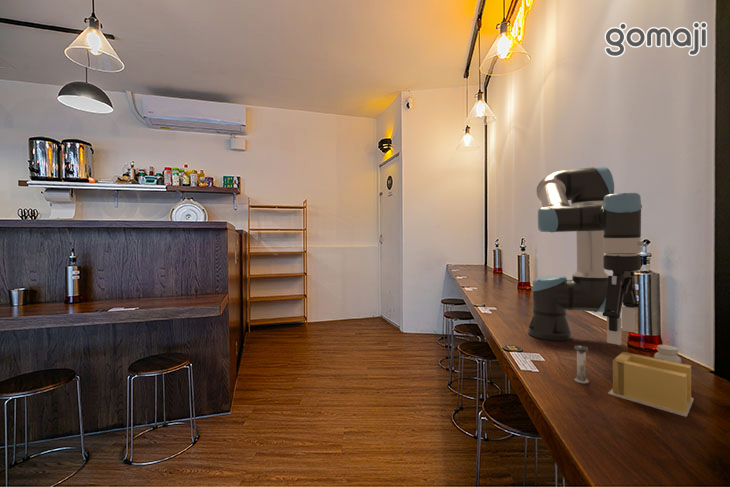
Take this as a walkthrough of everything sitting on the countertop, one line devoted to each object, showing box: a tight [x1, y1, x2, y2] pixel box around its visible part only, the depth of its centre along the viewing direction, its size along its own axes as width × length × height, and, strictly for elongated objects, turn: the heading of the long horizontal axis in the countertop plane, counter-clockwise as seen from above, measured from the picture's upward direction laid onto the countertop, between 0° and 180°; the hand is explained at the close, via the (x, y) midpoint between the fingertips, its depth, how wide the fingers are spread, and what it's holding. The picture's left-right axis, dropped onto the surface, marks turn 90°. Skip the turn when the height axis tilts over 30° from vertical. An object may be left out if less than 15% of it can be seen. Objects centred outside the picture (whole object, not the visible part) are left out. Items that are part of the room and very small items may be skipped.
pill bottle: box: [653, 344, 682, 364], centre depth 87 cm, size 5×5×10 cm
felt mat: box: [607, 387, 694, 418], centre depth 80 cm, size 11×14×1 cm
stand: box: [574, 344, 589, 385], centre depth 89 cm, size 3×3×10 cm
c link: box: [612, 351, 692, 413], centre depth 80 cm, size 13×9×8 cm
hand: (621, 337), depth 84 cm, fingers open, 13 cm apart
